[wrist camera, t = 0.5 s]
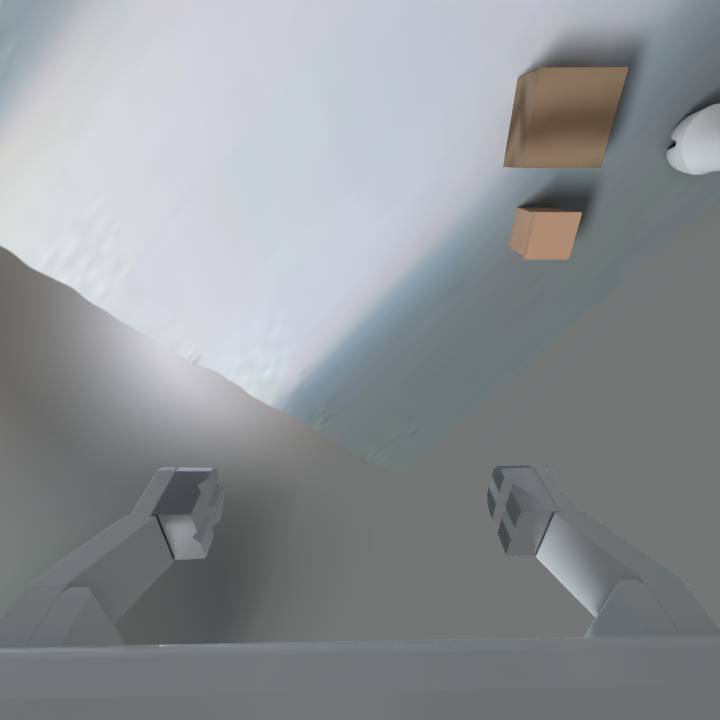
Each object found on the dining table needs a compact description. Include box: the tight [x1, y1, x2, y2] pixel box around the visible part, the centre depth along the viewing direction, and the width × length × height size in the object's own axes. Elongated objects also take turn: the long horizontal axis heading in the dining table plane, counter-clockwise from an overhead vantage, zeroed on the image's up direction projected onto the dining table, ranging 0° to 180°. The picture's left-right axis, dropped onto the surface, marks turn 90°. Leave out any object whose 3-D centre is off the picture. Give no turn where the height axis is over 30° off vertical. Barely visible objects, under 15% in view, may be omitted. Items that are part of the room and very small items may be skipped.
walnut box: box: [503, 67, 629, 168], centre depth 42 cm, size 9×9×6 cm
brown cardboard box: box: [509, 208, 582, 259], centre depth 47 cm, size 6×6×6 cm
